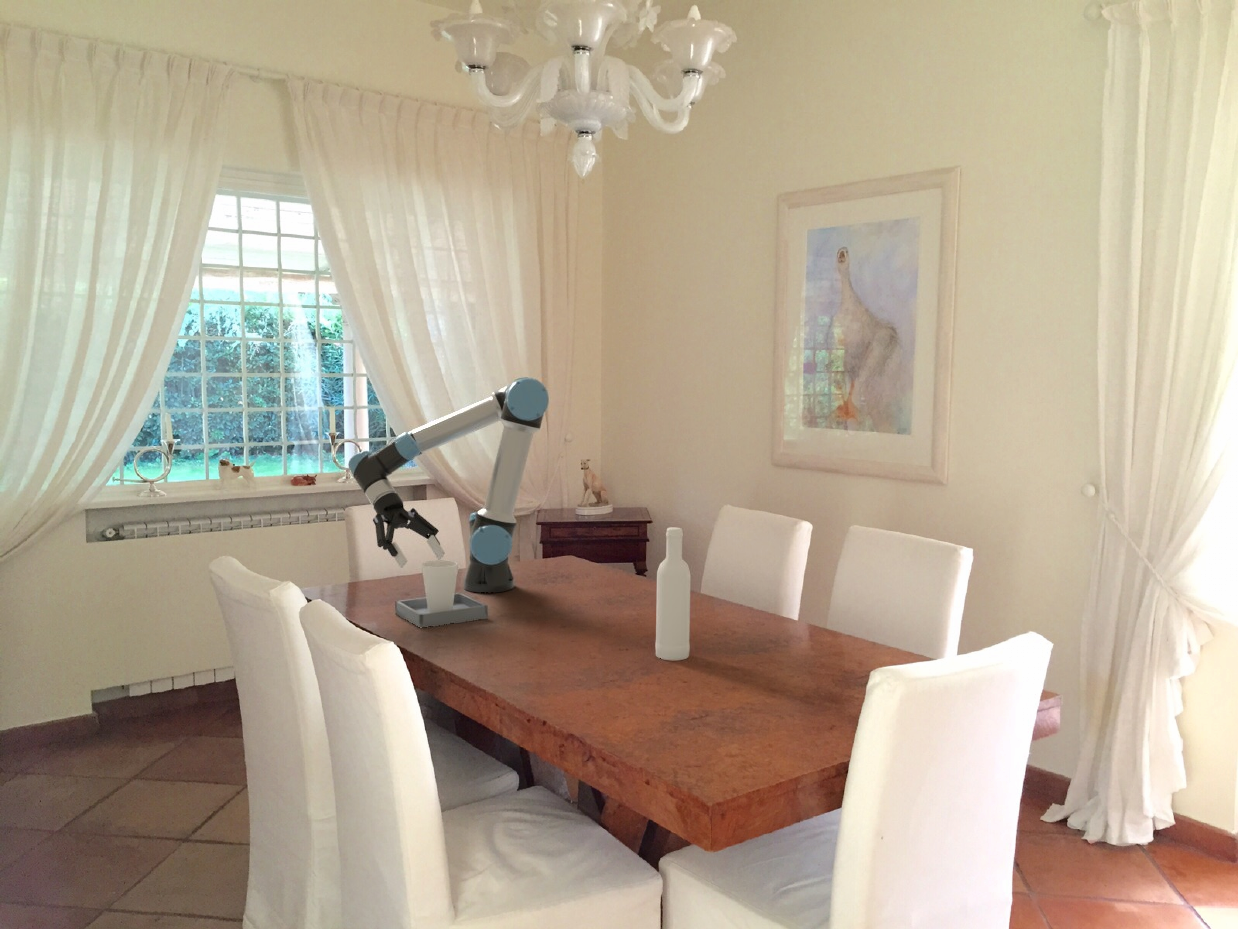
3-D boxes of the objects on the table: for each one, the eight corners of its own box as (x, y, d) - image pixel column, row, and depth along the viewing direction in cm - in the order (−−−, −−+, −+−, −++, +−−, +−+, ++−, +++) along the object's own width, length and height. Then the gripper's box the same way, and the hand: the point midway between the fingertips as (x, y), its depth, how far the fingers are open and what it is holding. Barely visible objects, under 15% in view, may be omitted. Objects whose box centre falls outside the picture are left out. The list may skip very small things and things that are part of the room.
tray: (460, 605, 268) (460, 592, 268) (487, 618, 254) (487, 605, 254) (395, 614, 257) (395, 601, 257) (420, 628, 243) (419, 615, 243)
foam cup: (462, 608, 260) (462, 561, 258) (453, 617, 250) (452, 568, 249) (428, 606, 260) (427, 559, 259) (417, 615, 251) (417, 566, 250)
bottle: (683, 662, 218) (686, 532, 215) (650, 658, 220) (652, 529, 217) (693, 653, 225) (695, 527, 222) (661, 649, 228) (663, 524, 225)
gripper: (412, 503, 276) (449, 561, 269) (342, 513, 256) (380, 576, 249) (425, 487, 273) (463, 545, 266) (355, 496, 252) (394, 559, 245)
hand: (423, 560), depth 257 cm, fingers open, 13 cm apart
